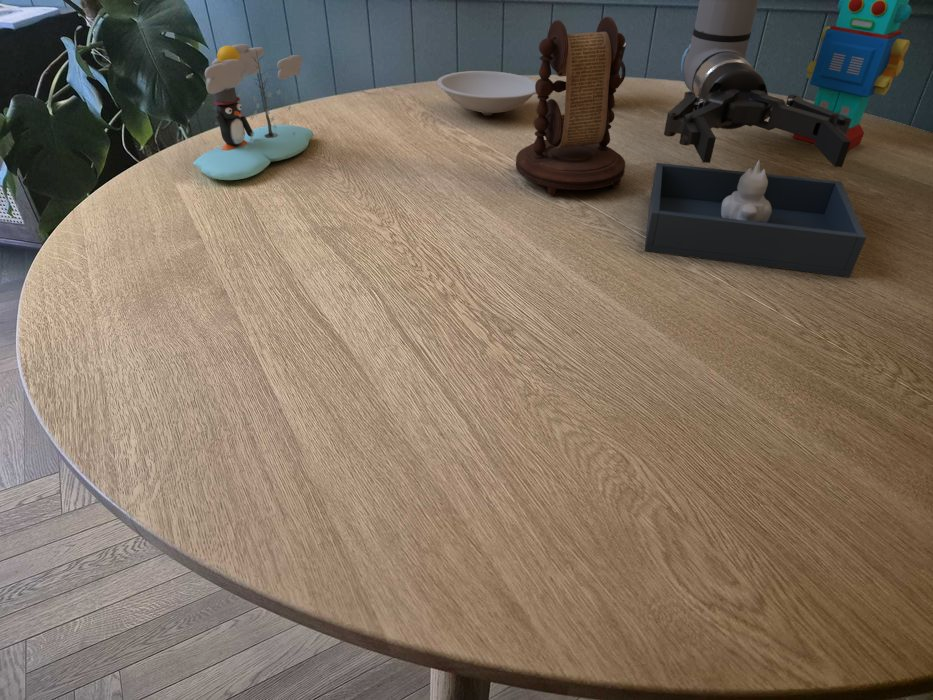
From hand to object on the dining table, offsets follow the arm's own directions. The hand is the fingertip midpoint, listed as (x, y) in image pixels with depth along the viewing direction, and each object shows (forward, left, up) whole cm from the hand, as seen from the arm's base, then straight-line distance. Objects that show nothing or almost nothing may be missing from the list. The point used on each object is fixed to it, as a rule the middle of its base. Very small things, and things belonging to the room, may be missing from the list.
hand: (775, 152), depth 69 cm
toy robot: (-14, -39, -11) cm, 43 cm away
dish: (+40, -37, -11) cm, 56 cm away
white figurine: (+1, -3, -11) cm, 11 cm away
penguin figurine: (+67, -9, -11) cm, 69 cm away
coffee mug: (+23, -46, -11) cm, 53 cm away
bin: (+1, -3, -11) cm, 12 cm away
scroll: (+23, -14, -11) cm, 29 cm away
